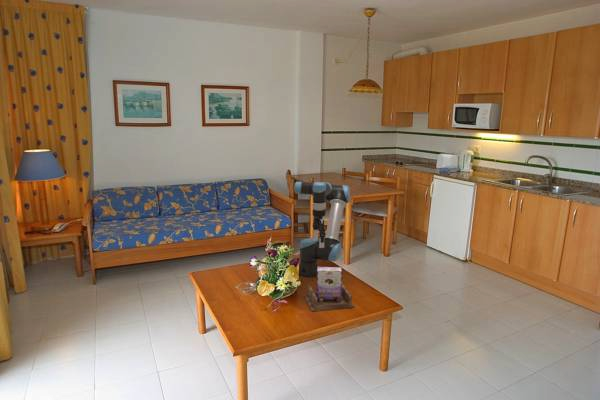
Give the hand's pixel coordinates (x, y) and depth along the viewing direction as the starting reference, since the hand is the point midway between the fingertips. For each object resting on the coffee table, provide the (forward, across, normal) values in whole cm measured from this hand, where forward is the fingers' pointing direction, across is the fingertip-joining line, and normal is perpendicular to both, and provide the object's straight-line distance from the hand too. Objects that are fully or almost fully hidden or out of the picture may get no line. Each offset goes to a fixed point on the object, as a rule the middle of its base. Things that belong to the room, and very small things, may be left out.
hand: (318, 243), depth 237 cm
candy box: (+25, +19, +1) cm, 31 cm away
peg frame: (+28, +19, +1) cm, 34 cm away
